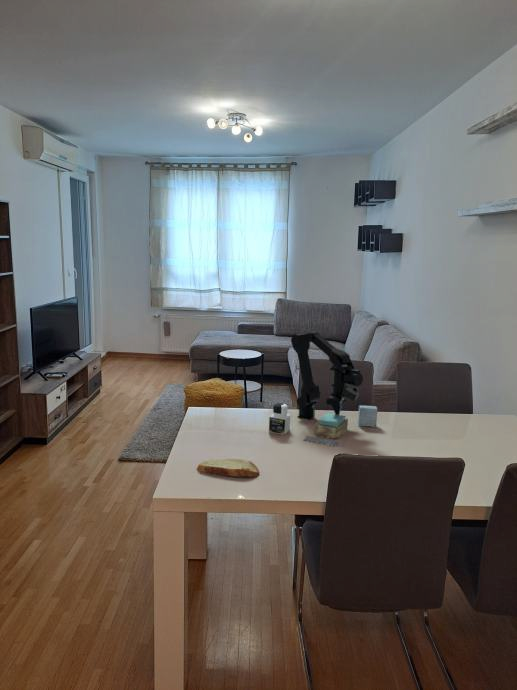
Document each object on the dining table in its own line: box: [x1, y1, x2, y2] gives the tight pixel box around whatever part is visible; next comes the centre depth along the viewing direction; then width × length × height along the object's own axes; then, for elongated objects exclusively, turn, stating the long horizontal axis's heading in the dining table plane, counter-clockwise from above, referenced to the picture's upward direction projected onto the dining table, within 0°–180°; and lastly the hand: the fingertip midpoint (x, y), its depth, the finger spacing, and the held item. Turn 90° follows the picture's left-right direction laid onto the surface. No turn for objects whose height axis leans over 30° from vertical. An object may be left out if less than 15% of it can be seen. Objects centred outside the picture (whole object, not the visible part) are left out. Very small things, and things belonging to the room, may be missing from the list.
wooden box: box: [314, 418, 349, 440], centre depth 225 cm, size 10×14×5 cm
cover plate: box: [318, 412, 346, 428], centre depth 225 cm, size 8×11×2 cm
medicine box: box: [357, 405, 378, 428], centre depth 236 cm, size 8×4×9 cm, turn 84°
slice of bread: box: [196, 458, 260, 478], centre depth 182 cm, size 18×18×4 cm
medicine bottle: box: [268, 402, 291, 435], centre depth 224 cm, size 7×7×12 cm
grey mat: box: [303, 435, 341, 447], centre depth 214 cm, size 14×5×1 cm, turn 65°
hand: (337, 416), depth 231 cm, fingers closed
